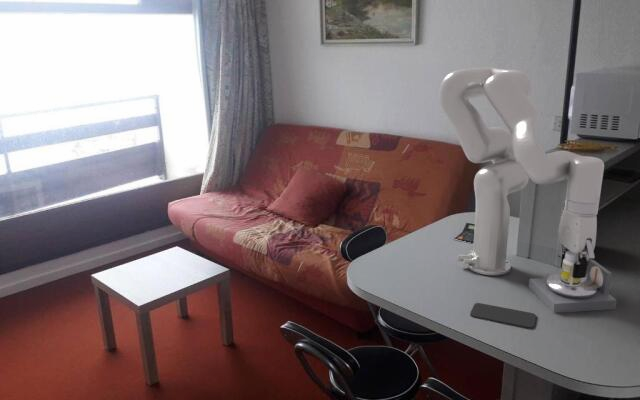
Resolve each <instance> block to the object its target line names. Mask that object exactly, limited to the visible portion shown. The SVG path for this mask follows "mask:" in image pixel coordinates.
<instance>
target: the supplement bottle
mask: <svg viewBox="0 0 640 400" xmlns="http://www.w3.org/2000/svg"><path fill="white" fill-rule="evenodd" d="M582 257H584V254H580V259H581V258H582ZM574 263H576V254H574V253H572V252H571V251H567V252H566V253H565V258H564V259H563V264H562V268H561V273H560V274H561V283H562V284H564V285H566V286H572V287H576V286H579V285H580V282H581V278H573V277H572V275H573V267H574Z"/></svg>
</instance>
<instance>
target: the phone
mask: <svg viewBox="0 0 640 400" xmlns="http://www.w3.org/2000/svg"><path fill="white" fill-rule="evenodd" d="M469 316H470V317H471V318H475V319H480V320H483V321H484V320H485V321H488V320H489V322H493V323H499V324H503V325H508V326H513V327H517V328H522V329H528V330H532V329H534V327H535V324H536V319H537V315H536V314H535V312H534V313H533V312H529V311H524V310H518V309H513V308H509V307H502V306H497V305H491V304H486V303H481V302H476V303H474V304H473V306H472V308H471V311H470V312H469Z"/></svg>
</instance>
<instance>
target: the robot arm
mask: <svg viewBox="0 0 640 400" xmlns="http://www.w3.org/2000/svg"><path fill="white" fill-rule="evenodd" d="M532 89H533V83H532V80H531V78H530V77H529V76H528V75H527V73H525V72H523V71H522V70H518V69H517V70H516V69H505V68H497V67H490V66H488V67H487V66H486V67H485V66H483V67H471V68H462V69H457V70H454V71H451V72H450V73H448V74H447V75H446V76H445V77H444V78H443V79H442V81H441V83H440V87H439V91H438V94H439V95H438V98H439V103H440V106H441V108H442V111H443V113H444V114H445V116H446V117H447V119H448V121H449V123H450V125H451V126H452V129H453V131H454V133H455V135H456V139H458V142H459V143H460V146H461V148H462V151H463V152H464V154H465V156H466V158H467V160H468V161H470V162H471V163H474V164H481V163H487V162H490V161H491V162H492V163H491V164H488V165H486V166H484V167H481V169H479V170H478V171H477V172H476V174H475V176H474V179H473V187H474V188H473V189H474V197H475V214H474V215H475V216H474V217H475V218H474V224H475V229H474V244H473V247H472V249H470V250H469V253H468V252H467V253H466V254H456V261H457V262H463V264H465V265H466V266H467V268H468V270H470V271H472V272H474V273H476V274H481V275H484V276H501V275H502V276H503V275H505V274H508V273H509V272H510V271H511V270H512V269H511V268H512V266H511V265H512V264H511V263H510V262H509V261H508V259H507V250H508V241H509V240H508V239H509V231H510V230H509V228H510V227H509V226H510V215H511V213H510V212H511V211H510V210H511V208H510V205H509V201H508V195H509V194H512V193H515V192H518V191H520V190H522V189H524V188H525V187H526V186H527V185H528V183H529V179H530V180H531V181H532V182H533V183H535V184H536V185H537V184H538V186H539V185H540V186H549V185H552V184H555V183H558V182H561V181H567V184H566V193H565V200H564V201H565V207H564V210H563V209H562V212H563V213H562V214H561V216H560V221H559V226H558V232H557V241H558V243H559V242H560V243H561V245H562V253H564V254H562V257H561V261H560V268H561V269H562V264H563V259H564V258H565V253H566V252H567V251H571V252H572V253H574V254H576V263H574V267H573V275H572V277H573V278H585V276H587V275H586V274H587V268H588V265H589V262H590V261H591V260H595V258H596V257H595V252H594V250H595V247H596V242H597V241H596V240H597V232H598V231H597V230H598V229H597V227H598V226H597V225H598V224H597V223H598V220H597V215H598V213H599V206H600V201H601V200H600V199H601V193H602V191H601V190H602V184H603V177H604V169H605V163H604V161H603V160H602V159H601V158H599V157H595V156H587V155H585V156H583V155H580V154H578V153H577V154H576V153H574V152H571V151H567V150H556V151H553V152H550V153H546V152H545V150H544V149H543V148H542V147H541V146H540V144H539V142H538V140H537V138H536V133H535V127H536V124H537V122H538V121H539V119H540V114H541V113H540V112H539V110H538V109H537V107H536V106H535V105H534V104H533V101H531V100H530V98H529V96H530V94H531V92H532ZM483 97H484V98H485V97H486V99H487V100H488V102H489V103H490V105H491V106H492V107H493V109H494V111H495V112H496V113H497V114H498V116H499V117H500V119H501V120H502V122H503V124H505V126H506V127H507V129H508V130H509V131H508V130H507V129H505V128H504V127H501V126H500V127H499V126H492V127H491V126H490V127H488V126H487V125H486V123H485V121H484V120H483V117H482V115H481V113H480V112H479V110H478V109H477V107H475V106H474V105H473V104H472V103H471V102H470V101H469V99H476V98H483ZM580 254H582V255H583V256H582V258H581V259H580Z"/></svg>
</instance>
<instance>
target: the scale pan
mask: <svg viewBox="0 0 640 400" xmlns="http://www.w3.org/2000/svg"><path fill="white" fill-rule="evenodd" d="M546 278H547V286H548V288H549V289H551V290H552V291H554V292H556V293H558V294H561V295H564V296H568V297H575V298H587V297H591V296H594V295H595V294H596V293H597V285H596V284H595V283H594V282H593V281H591V280H590V279H588V278H581V282H580V285H579V286H576V287H572V286H566V285H564V284H562V283H561V273H554V274H551V275H550V276H548V277H546Z"/></svg>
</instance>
